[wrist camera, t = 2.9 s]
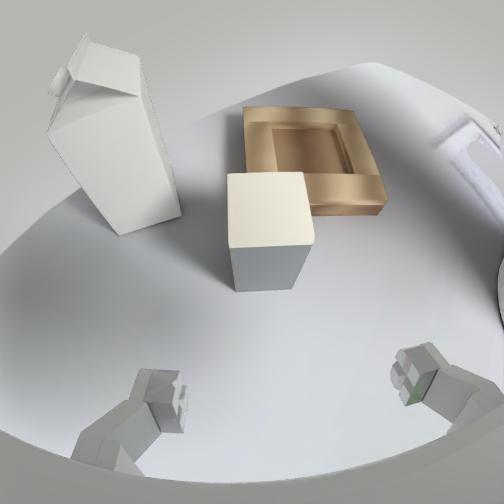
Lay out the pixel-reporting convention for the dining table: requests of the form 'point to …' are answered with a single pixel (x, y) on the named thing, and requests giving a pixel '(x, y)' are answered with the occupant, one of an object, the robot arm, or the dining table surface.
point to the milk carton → (113, 137)
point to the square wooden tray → (316, 156)
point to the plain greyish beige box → (268, 229)
